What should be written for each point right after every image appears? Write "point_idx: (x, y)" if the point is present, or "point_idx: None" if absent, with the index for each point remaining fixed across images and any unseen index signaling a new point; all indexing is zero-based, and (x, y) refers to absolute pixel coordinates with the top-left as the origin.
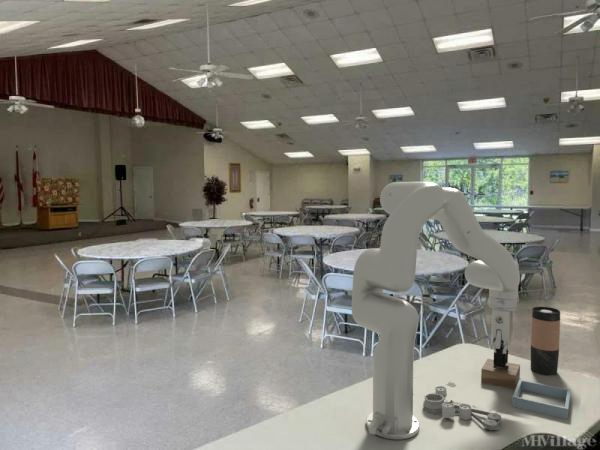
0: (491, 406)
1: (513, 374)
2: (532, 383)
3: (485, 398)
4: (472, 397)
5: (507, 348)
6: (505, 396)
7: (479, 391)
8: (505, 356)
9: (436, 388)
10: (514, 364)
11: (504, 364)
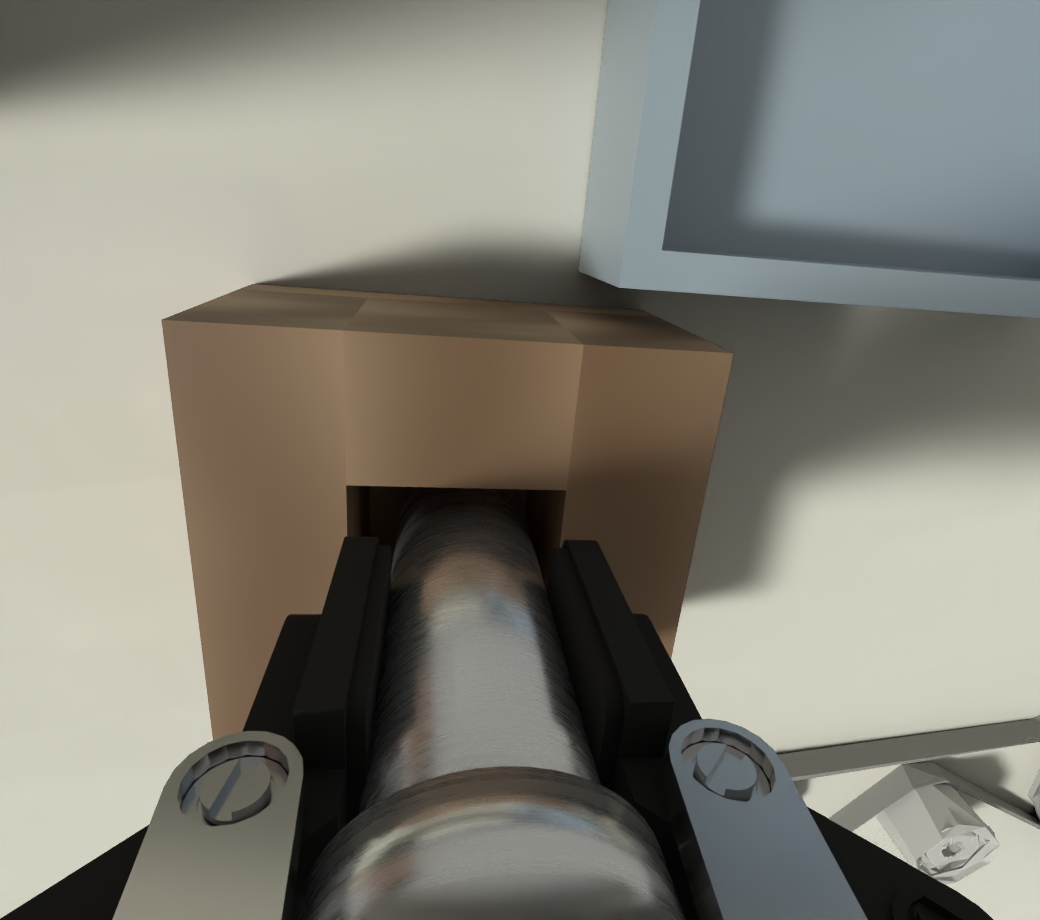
0: (998, 476)
1: (695, 386)
2: (687, 80)
3: (857, 542)
4: (865, 629)
5: (555, 795)
6: (761, 392)
7: (730, 607)
8: (652, 667)
9: (932, 872)
10: (221, 414)
11: (603, 574)
